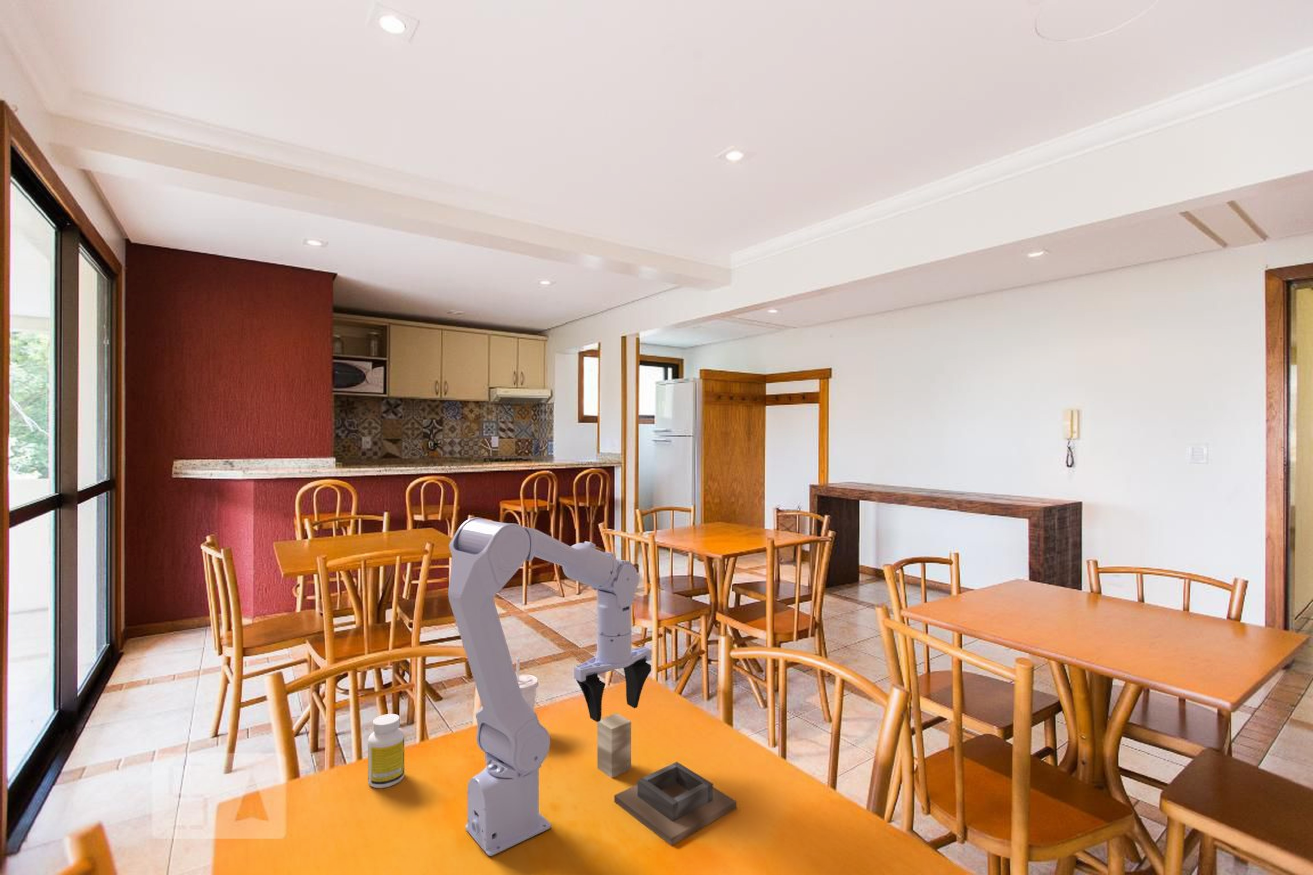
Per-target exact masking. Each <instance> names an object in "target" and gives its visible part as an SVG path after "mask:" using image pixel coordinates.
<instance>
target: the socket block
mask: <svg viewBox="0 0 1313 875" xmlns="http://www.w3.org/2000/svg"><path fill="white" fill-rule="evenodd" d="M613 799H614V800H613V801H614V803H615V804H617V805H618V806H619V807H621V809H623V810H624V811H625V812H626V813H628V814H629V815H631V816H632V817H634V818H635V819H636V820H638V821H639V822H640V823H641V824H642V825H644V826H645V827H646V828H647V829H648V830H650V831H651V832H653V833H654V834H656V835H657V836H658V837H659V838H660V839H662V840H663V841H664V842H666V844H669V845H670V846H674V845H675V844H677V843H679V842H680V841H682V840H684V839H686V838H687V837H688V836H691V835H692V834H694V833H696V832H697V831H699V830H701V829H702V828H705V827H706V826H708V825H709V824H712V823H714V822H715V821H716V820H718V819H720V818H722V817H724V816H726V815H727V814H729V813H731V812H732V811H734V810H736V809H737V808H738V807H737V801H736V800H735V799H733V798H732V797H730V796H728V795H726V794H725V793H724V792H722V791H720V790H719V789H717V788H716V787H714V783H713V782H711V781H710V780H708V779H706V778H704V777H702V776H701V775H699V774H698V773H696V772H694V771H693V770H691V769H689V768H688V767H686V766H685V765H683V764H682V763H679V761H676V762H673V763H671V764H669V765H667V766H665V767H663V768H661V769H658V770H656V771H655V772H654V771H653V772H652V773H650V774H647V775H645V776H643V777H642V778H639V779H637V784H636V785H633V786H631V787H629V788H627V789H625V790H622V791H620V792H618V793H616V794H614V797H613Z"/></svg>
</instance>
